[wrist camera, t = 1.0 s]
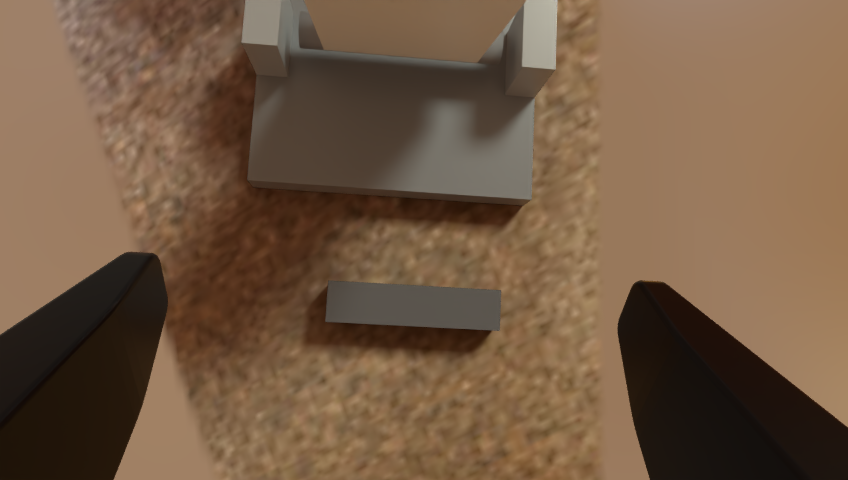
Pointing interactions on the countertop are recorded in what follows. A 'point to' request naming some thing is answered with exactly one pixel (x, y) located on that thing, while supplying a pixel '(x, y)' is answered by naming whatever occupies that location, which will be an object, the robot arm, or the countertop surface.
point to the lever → (409, 28)
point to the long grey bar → (413, 305)
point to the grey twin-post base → (395, 113)
